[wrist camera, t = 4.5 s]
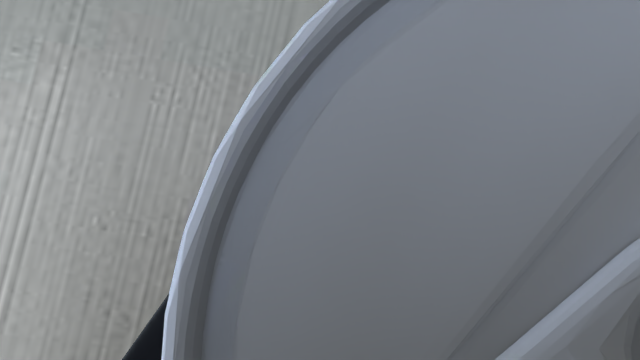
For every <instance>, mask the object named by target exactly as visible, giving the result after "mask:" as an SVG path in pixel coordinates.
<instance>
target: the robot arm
mask: <svg viewBox="0 0 640 360" xmlns="http://www.w3.org/2000/svg"><path fill="white" fill-rule="evenodd" d="M168 297H169V294H168V296H167V297H166V298H165V300H164V301H163V303H162V304H161V306H160V307H159V308H158V310H157V311H156V313H155V314H154V315H153V317H152V318H151V320H150V321H149V322H148V324H147V325H146V327H145V328H144V329H143V331H142V332H141V334H140V335H139V336H138V338H137V339H136V341H135V342H134V343H133V345H132V346H131V348H130V349H129V351H128V352H127V353H126V355H125V356H124V358H123V359H122V360H161V357H162V344H163V331H164V318H165V311H166V307H167V302H168Z"/></svg>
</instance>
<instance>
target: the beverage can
mask: <svg viewBox="0 0 640 360" xmlns="http://www.w3.org/2000/svg"><path fill="white" fill-rule="evenodd" d="M161 360H640V0H330V1H329V2H328V3H327V4H326V5H325V6H324V7H322V8H321V9H320V10H319V11H318V12H317V13H316V14H315V15H314V16H313V17H312V18H310V19H309V20H308V21H307V22H306V23H305V24H304V25H303V26H302V28H301V29H300V30H299V31H298V33H297V34H296V35H295V36H294V37H293V39H292V40H291V41H290V42H289V44H288V45H287V46H286V47H285V49H284V50H283V51H282V52H281V54H280V55H279V56H278V57H277V58H276V60H275V61H274V62H273V63H272V65H271V66H270V67H269V68H268V70H267V71H266V72H265V73H264V75H263V76H262V77H261V78H260V80H259V81H258V82H257V83H256V85H255V86H254V87H253V89H252V91H251V92H250V94H249V96H248V97H247V99H246V101H245V102H244V104H243V106H242V107H241V109H240V111H239V113H238V114H237V116H236V118H235V120H234V121H233V123H232V125H231V126H230V128H229V130H228V132H227V133H226V135H225V137H224V139H223V140H222V142H221V144H220V146H219V147H218V149H217V151H216V153H215V155H214V156H213V159H212V161H211V164H210V166H209V168H208V171H207V173H206V176H205V178H204V181H203V183H202V186H201V188H200V191H199V193H198V196H197V199H196V201H195V204H194V206H193V209H192V211H191V214H190V217H189V219H188V222H187V225H186V227H185V230H184V233H183V236H182V241H181V245H180V249H179V253H178V257H177V262H176V266H175V271H174V275H173V280H172V284H171V288H170V293H169V297H168V302H167V307H166V311H165V318H164V331H163V344H162V357H161Z"/></svg>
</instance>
